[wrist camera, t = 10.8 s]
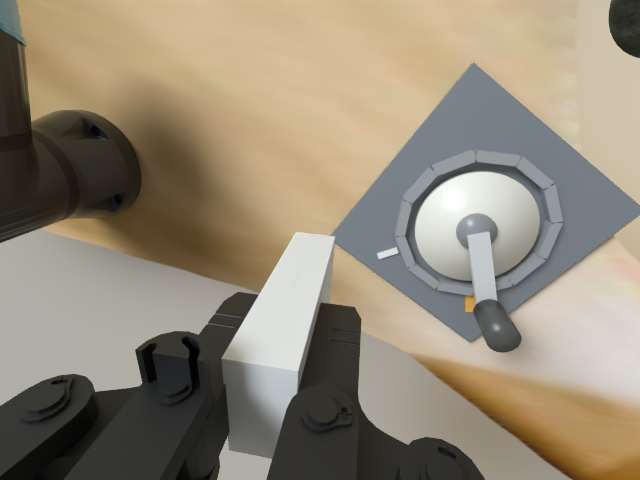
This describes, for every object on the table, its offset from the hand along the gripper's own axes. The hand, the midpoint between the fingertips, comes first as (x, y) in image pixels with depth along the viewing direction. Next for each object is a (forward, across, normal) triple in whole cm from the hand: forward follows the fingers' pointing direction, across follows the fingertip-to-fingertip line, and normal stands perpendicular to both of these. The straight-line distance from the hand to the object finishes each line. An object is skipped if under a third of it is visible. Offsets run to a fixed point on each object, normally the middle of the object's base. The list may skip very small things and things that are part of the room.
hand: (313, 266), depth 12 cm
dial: (+29, +17, -10) cm, 35 cm away
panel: (+30, +16, -7) cm, 35 cm away
